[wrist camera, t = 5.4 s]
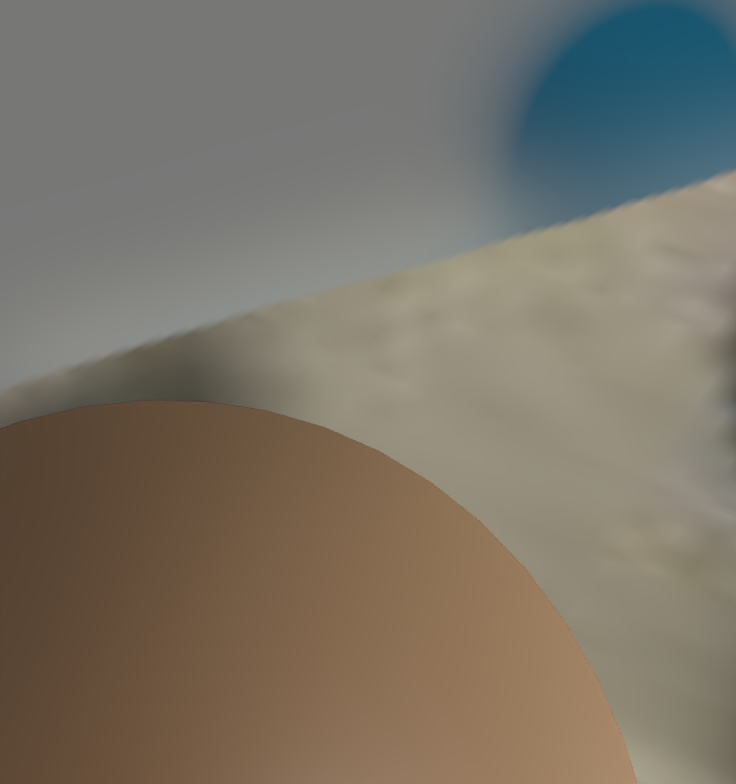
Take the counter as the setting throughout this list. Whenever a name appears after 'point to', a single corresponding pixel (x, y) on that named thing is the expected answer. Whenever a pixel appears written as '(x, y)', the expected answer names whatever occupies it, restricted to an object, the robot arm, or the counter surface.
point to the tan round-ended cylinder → (269, 615)
